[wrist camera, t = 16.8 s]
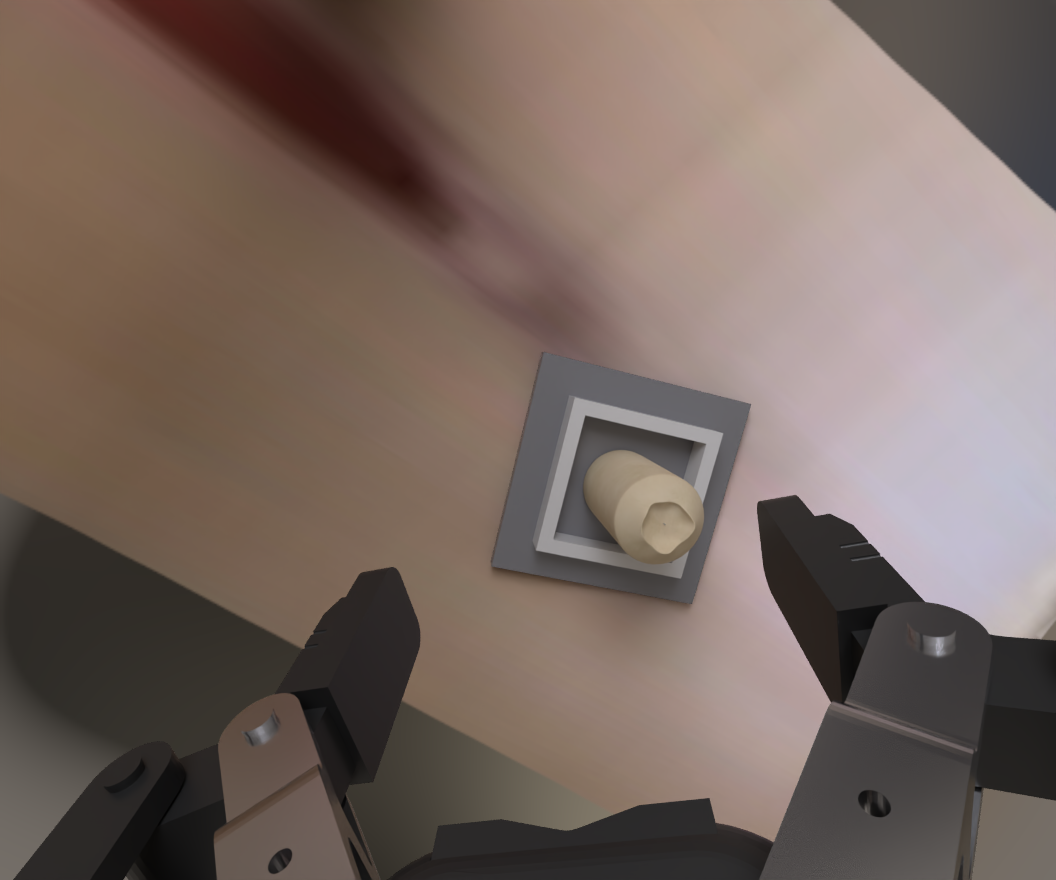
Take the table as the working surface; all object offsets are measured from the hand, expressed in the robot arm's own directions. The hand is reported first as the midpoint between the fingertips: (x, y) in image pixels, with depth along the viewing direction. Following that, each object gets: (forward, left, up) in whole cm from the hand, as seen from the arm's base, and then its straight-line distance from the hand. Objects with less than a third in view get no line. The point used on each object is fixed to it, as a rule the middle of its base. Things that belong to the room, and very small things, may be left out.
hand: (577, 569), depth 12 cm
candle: (+10, -3, -28) cm, 30 cm away
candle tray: (+10, -3, -29) cm, 30 cm away
